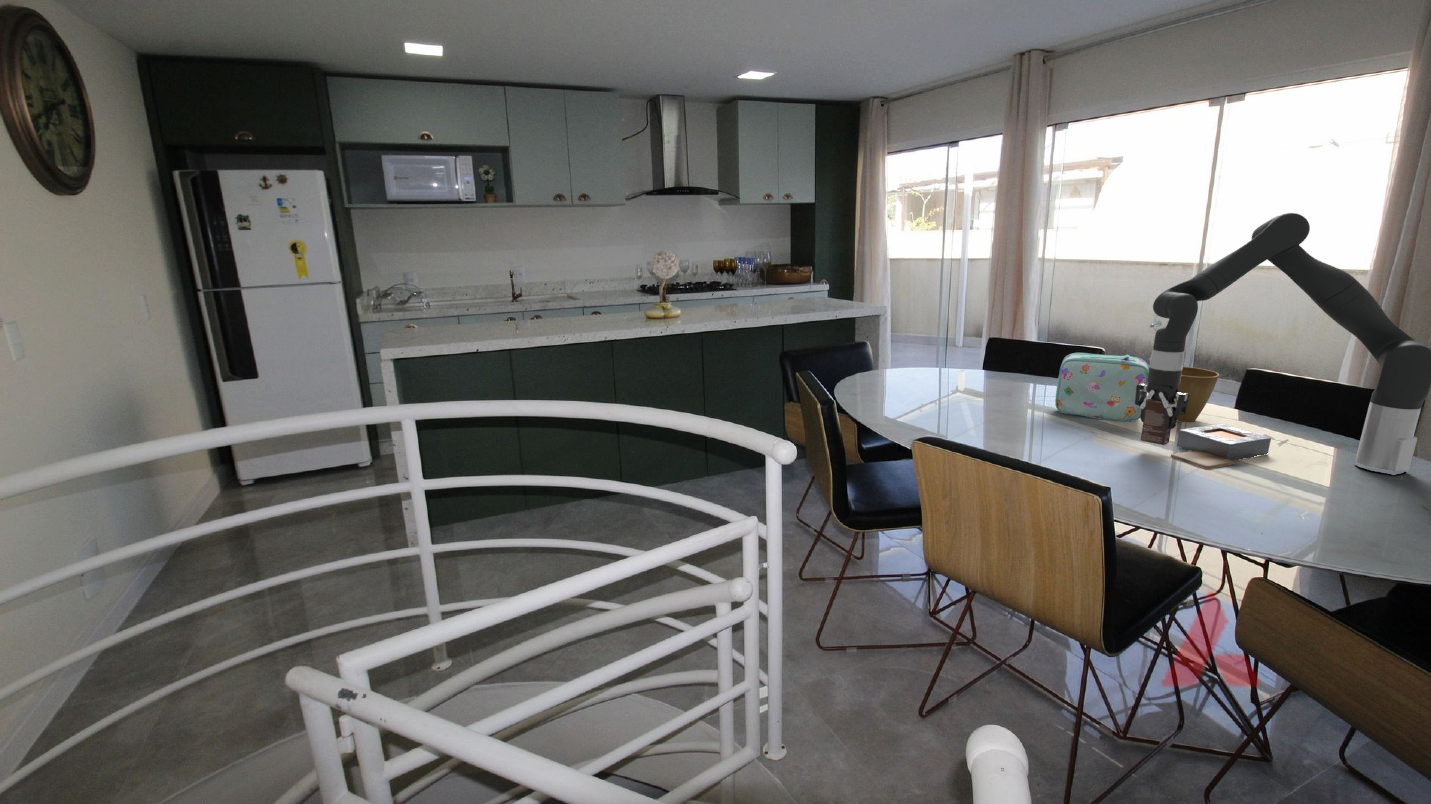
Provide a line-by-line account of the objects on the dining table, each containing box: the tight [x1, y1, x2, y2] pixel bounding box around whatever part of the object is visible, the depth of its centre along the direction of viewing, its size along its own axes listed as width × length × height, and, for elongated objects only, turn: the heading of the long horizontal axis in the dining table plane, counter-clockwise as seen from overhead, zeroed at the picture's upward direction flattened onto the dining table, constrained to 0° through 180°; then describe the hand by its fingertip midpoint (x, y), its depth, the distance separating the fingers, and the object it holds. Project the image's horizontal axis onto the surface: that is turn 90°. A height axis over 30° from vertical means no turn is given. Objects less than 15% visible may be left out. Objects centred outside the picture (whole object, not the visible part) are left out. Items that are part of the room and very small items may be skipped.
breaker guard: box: [1176, 423, 1272, 462], centre depth 187 cm, size 14×16×5 cm
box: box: [1140, 399, 1173, 446], centre depth 185 cm, size 6×4×12 cm
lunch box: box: [1054, 352, 1150, 422], centre depth 219 cm, size 27×10×21 cm, turn 59°
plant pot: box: [1175, 366, 1220, 423], centre depth 216 cm, size 15×15×16 cm
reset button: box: [1208, 431, 1241, 439], centre depth 187 cm, size 6×6×2 cm
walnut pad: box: [1170, 450, 1235, 470], centre depth 180 cm, size 10×10×1 cm
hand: (1156, 425), depth 185 cm, fingers closed on box, 7 cm apart
